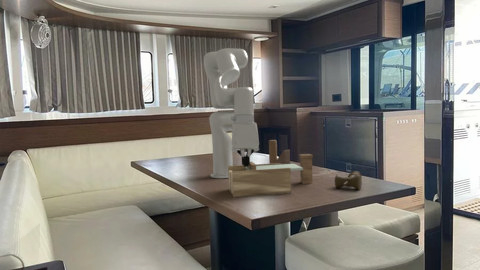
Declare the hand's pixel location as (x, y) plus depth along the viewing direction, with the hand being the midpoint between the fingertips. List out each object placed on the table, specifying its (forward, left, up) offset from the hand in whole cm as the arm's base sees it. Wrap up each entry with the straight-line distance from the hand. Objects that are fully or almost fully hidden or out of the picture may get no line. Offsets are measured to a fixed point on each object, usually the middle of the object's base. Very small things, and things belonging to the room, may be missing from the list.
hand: (245, 166), depth 143 cm
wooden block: (-18, +18, -10) cm, 27 cm away
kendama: (+3, +42, -11) cm, 43 cm away
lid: (0, +11, -2) cm, 11 cm away
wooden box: (0, +5, -10) cm, 11 cm away
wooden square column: (-10, +28, -10) cm, 31 cm away
